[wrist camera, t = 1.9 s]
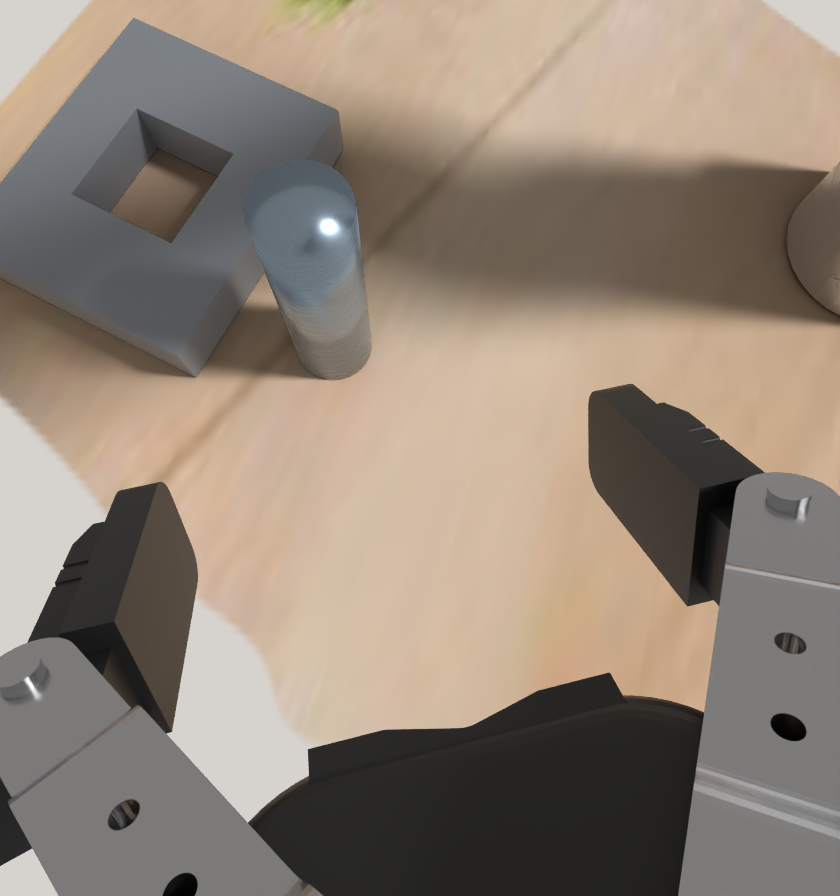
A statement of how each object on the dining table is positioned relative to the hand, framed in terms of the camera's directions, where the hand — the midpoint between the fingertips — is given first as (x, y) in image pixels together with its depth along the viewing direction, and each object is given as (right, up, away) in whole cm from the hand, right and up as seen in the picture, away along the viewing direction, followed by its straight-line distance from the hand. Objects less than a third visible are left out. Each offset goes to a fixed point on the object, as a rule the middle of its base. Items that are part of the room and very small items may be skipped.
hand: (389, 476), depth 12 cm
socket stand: (-13, +14, +24) cm, 31 cm away
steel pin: (-4, +6, +22) cm, 23 cm away
